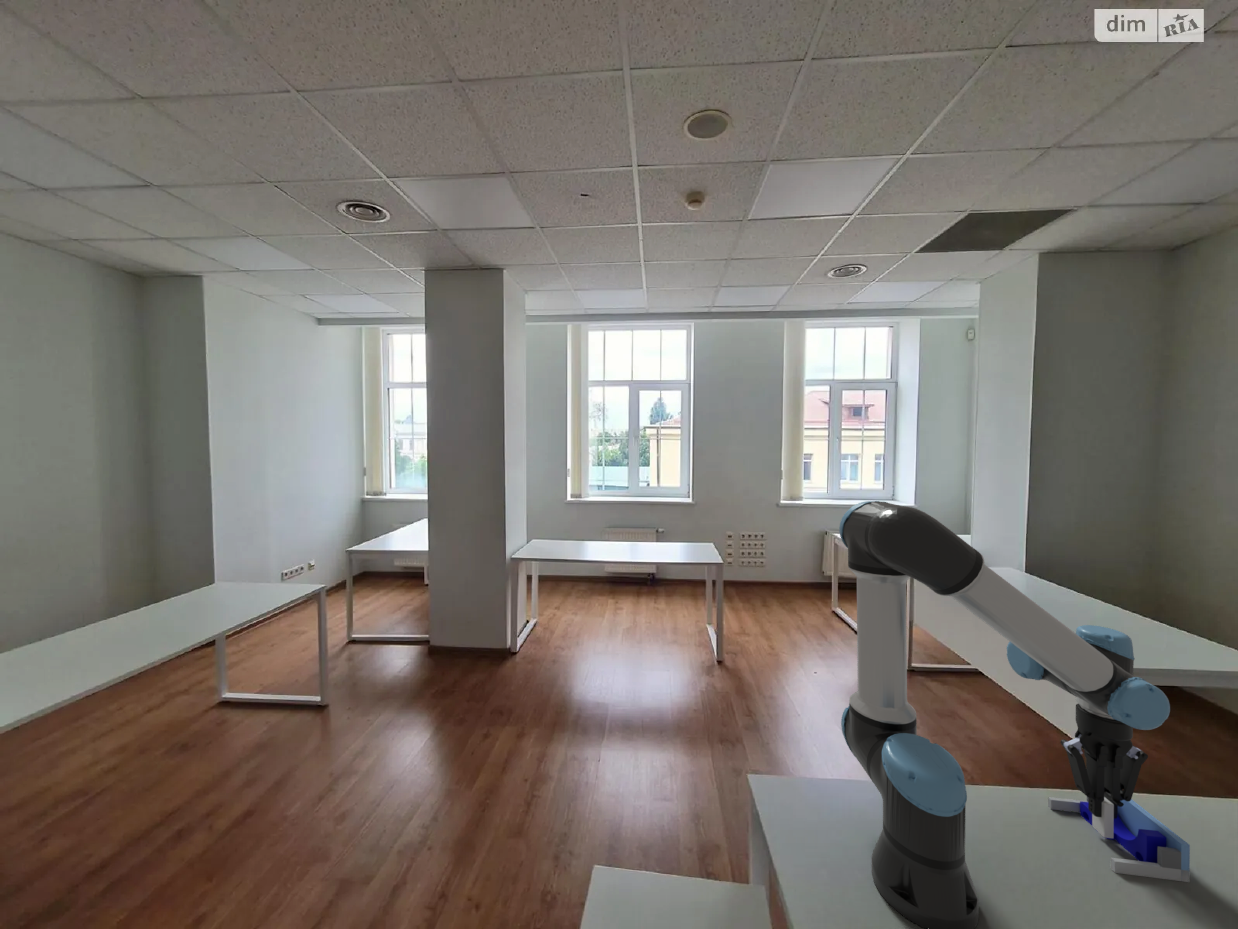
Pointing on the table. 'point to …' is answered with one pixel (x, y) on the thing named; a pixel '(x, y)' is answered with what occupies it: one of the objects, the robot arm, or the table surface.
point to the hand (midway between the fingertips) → (1102, 832)
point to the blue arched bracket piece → (1132, 838)
